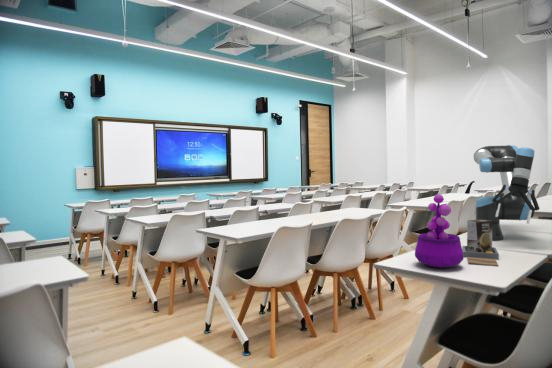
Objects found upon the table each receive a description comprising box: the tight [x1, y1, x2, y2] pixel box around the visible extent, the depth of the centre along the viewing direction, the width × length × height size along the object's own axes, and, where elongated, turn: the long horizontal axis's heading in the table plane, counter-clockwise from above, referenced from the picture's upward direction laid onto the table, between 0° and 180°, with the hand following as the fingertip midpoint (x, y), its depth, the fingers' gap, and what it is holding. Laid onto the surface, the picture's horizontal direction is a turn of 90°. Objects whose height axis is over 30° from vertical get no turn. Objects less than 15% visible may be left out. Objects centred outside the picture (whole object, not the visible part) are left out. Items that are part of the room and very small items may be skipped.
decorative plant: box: [414, 193, 465, 269], centre depth 165 cm, size 19×18×30 cm
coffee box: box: [466, 219, 493, 253], centre depth 183 cm, size 9×6×16 cm
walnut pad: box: [466, 257, 499, 267], centre depth 170 cm, size 11×11×1 cm
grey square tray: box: [461, 245, 500, 261], centre depth 183 cm, size 14×14×3 cm
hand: (512, 220), depth 195 cm, fingers open, 13 cm apart
